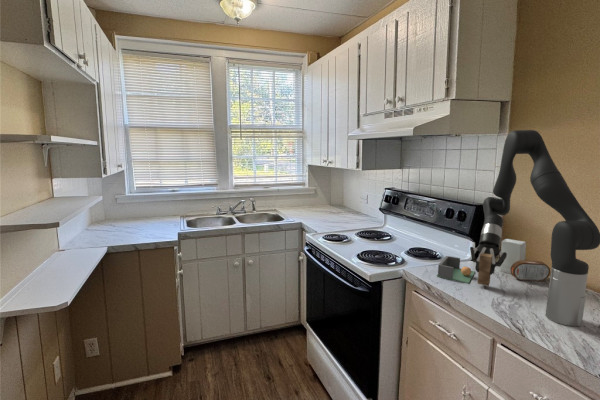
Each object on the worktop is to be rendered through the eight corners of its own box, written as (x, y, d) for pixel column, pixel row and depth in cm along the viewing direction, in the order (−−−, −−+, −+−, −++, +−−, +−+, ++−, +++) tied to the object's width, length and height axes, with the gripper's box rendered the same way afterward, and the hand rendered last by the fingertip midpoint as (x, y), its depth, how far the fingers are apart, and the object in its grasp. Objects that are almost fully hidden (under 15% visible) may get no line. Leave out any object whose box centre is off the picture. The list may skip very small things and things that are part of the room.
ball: (471, 275, 148) (472, 266, 147) (469, 277, 144) (470, 269, 144) (461, 273, 150) (462, 264, 149) (459, 275, 147) (460, 267, 146)
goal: (474, 272, 152) (475, 260, 151) (468, 283, 139) (469, 271, 139) (444, 266, 160) (445, 255, 159) (436, 276, 147) (437, 264, 146)
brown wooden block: (489, 282, 137) (492, 254, 135) (488, 286, 134) (491, 257, 132) (478, 280, 139) (481, 252, 137) (477, 283, 136) (480, 255, 134)
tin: (545, 279, 144) (547, 260, 143) (550, 282, 141) (552, 263, 140) (508, 278, 146) (510, 259, 145) (512, 280, 143) (514, 262, 142)
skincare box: (524, 273, 151) (527, 241, 149) (518, 276, 147) (522, 244, 145) (504, 268, 158) (507, 237, 155) (498, 270, 154) (501, 239, 152)
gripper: (471, 229, 143) (464, 264, 135) (510, 234, 135) (504, 272, 127) (472, 238, 148) (465, 272, 140) (510, 244, 140) (504, 280, 132)
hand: (484, 272), depth 134 cm, fingers closed on brown wooden block, 4 cm apart
